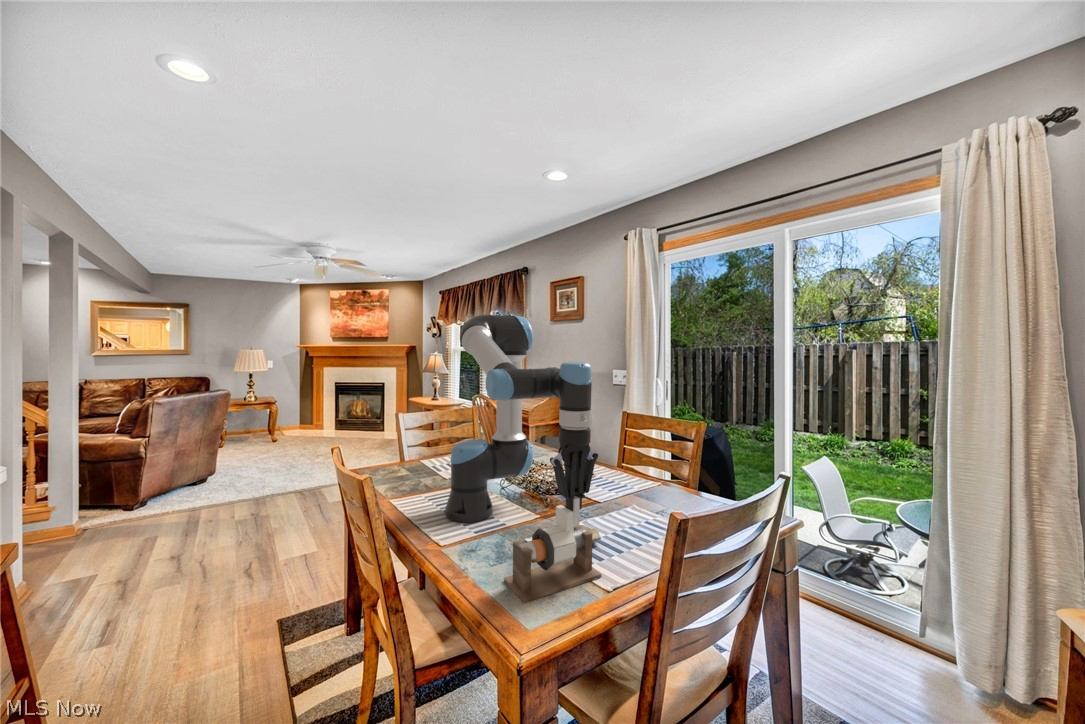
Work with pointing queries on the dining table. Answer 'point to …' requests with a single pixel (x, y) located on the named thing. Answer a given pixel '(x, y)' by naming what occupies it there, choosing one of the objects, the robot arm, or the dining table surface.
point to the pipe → (579, 542)
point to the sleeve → (562, 536)
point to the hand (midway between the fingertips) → (573, 523)
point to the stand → (550, 572)
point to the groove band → (540, 549)
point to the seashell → (595, 532)
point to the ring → (549, 546)
